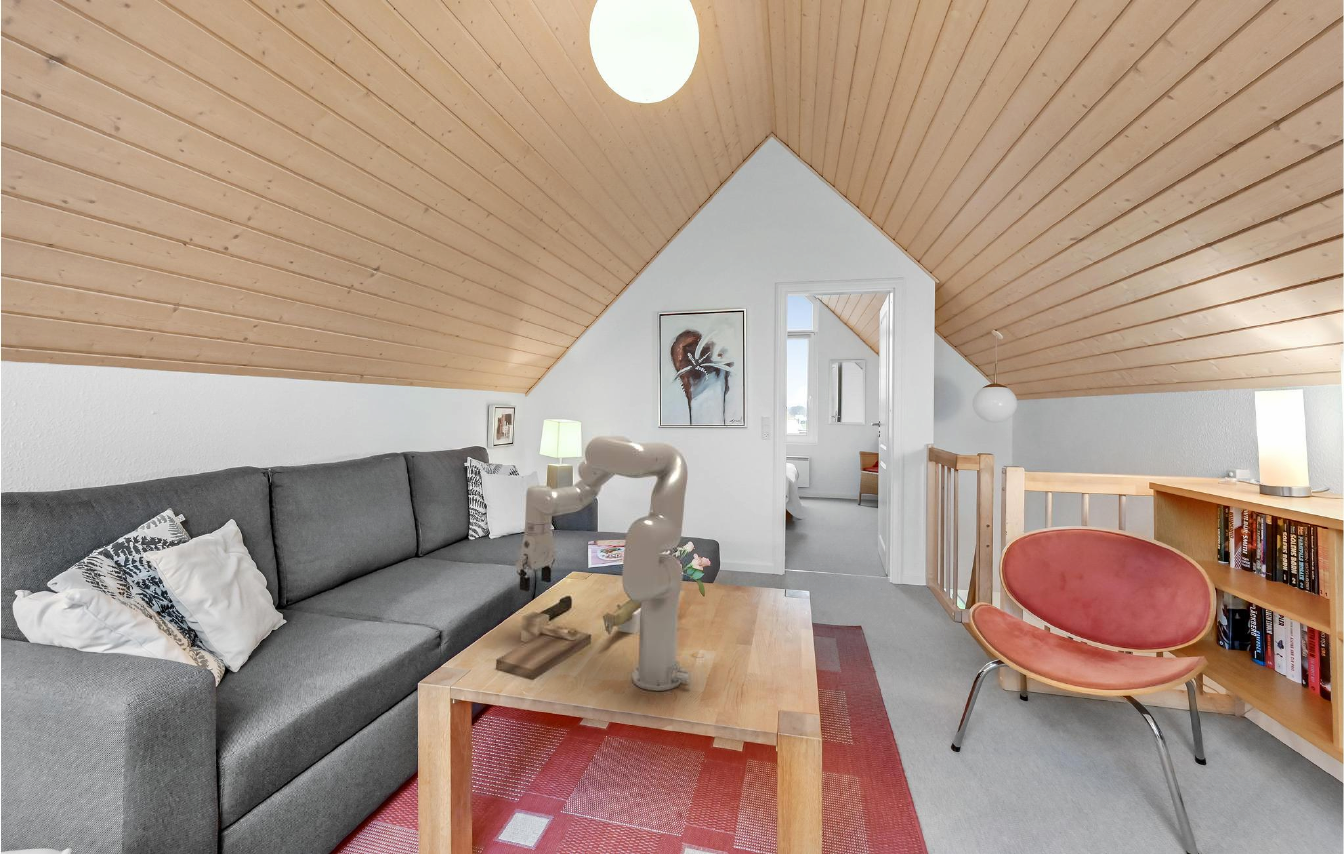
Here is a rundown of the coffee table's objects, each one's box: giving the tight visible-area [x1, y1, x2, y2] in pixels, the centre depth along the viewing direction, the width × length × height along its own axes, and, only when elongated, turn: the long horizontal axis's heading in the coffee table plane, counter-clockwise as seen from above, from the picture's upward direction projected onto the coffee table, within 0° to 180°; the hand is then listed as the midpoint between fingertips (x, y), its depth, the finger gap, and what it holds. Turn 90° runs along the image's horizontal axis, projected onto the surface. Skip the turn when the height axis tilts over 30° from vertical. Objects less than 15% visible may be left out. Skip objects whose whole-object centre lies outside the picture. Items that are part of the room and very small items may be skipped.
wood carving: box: [602, 598, 642, 635], centre depth 170 cm, size 9×35×11 cm, turn 161°
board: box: [495, 626, 592, 680], centre depth 151 cm, size 12×26×3 cm, turn 155°
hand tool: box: [539, 595, 573, 620], centre depth 181 cm, size 19×4×5 cm, turn 155°
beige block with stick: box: [520, 611, 577, 643], centre depth 159 cm, size 17×5×7 cm, turn 65°
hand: (535, 585), depth 161 cm, fingers open, 9 cm apart
